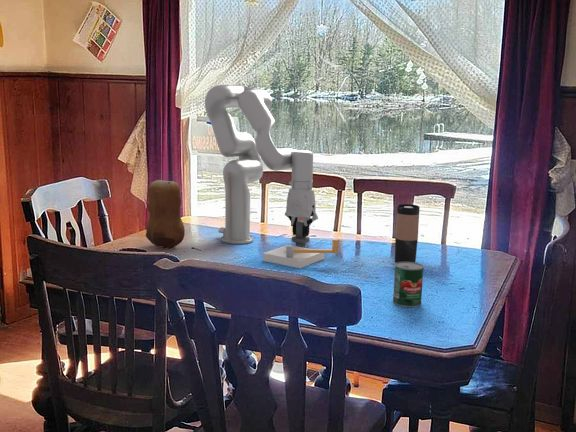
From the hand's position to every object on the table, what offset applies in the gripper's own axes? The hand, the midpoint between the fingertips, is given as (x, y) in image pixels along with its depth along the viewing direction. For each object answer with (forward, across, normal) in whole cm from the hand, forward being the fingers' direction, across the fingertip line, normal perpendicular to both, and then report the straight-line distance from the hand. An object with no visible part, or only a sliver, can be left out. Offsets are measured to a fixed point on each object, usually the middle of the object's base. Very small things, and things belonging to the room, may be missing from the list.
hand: (300, 234), depth 228 cm
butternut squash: (+7, -43, -25) cm, 50 cm away
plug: (+5, 0, 0) cm, 5 cm away
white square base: (+7, +6, -14) cm, 17 cm away
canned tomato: (+7, +54, -28) cm, 61 cm away
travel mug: (+7, +36, +12) cm, 38 cm away
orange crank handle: (+2, +14, -15) cm, 21 cm away
